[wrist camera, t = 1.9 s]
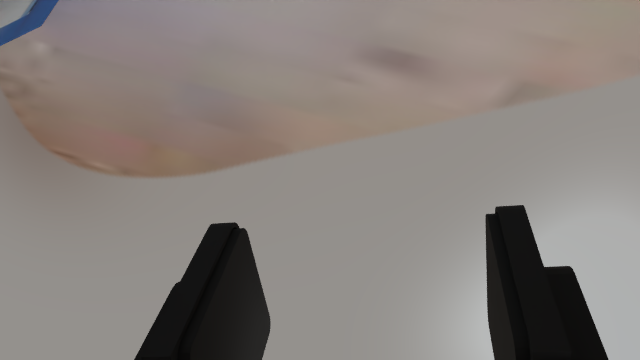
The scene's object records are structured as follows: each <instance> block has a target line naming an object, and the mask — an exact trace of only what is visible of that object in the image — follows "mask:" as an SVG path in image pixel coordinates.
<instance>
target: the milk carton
mask: <svg viewBox="0 0 640 360" xmlns="http://www.w3.org/2000/svg"><path fill="white" fill-rule="evenodd" d="M57 2H58V0H0V46H1V45H3V44H5V43H7V42H9V41H11V40H13V39H15V38H18V37H20V36H22V35H24V34H26V33H28V32H30V31H32V30H34V29H36V28H38V27H40V26H42V24H43V23H44V21H45V20H46V18H47V17H48V15H49V14H50V12H51V11H52V9H53V8H54V6H55V5H56V3H57Z"/></svg>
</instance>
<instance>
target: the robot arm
mask: <svg viewBox="0 0 640 360" xmlns="http://www.w3.org/2000/svg"><path fill="white" fill-rule="evenodd" d="M486 260H487V307H488V322H489V329H490V335H491V341H492V347H493V353H494V358H495V360H608V357H607V355H606V352H605V349H604V347H603V345H602V342H601V340H600V337H599V334H598V332H597V329H596V327H595V324H594V322H593V319H592V316H591V314H590V311H589V309H588V306H587V304H586V301H585V298H584V296H583V293H582V291H581V288H580V286H579V283H578V281H577V278H576V275H575V273H574V271H573V269H572V268H571V267H570V266H560V267H544V266H543V263H542V260H541V257H540V253H539V251H538V247H537V244H536V241H535V238H534V235H533V232H532V229H531V226H530V223H529V220H528V217H527V214H526V210H525V208H524V206H523V205H517V206H500V207H496V208H495V214H486ZM269 332H270V316H269V312H268V308H267V304H266V301H265V297H264V293H263V289H262V285H261V282H260V278H259V274H258V271H257V267H256V263H255V259H254V256H253V252H252V248H251V244H250V241H249V237H248V234H247V231H246V230H245V229H244V228H241V229H240V228H239V226H238V224H237V223H218V224H211V225H210V227H209V228H208V230H207V232H206V233H205V235H204V237H203V239H202V241H201V243H200V245H199V247H198V249H197V251H196V253H195V255H194V256H193V258H192V260H191V262H190V264H189V266H188V268H187V270H186V272H185V274H184V276H183V278H182V279H181V281H180V282H178V283H176V284H175V286H174V287H173V288H172V290H171V292H170V294H169V296H168V298H167V299H166V301H165V303H164V305H163V307H162V309H161V310H160V312H159V314H158V316H157V318H156V320H155V322H154V324H153V326H152V327H151V329H150V331H149V333H148V335H147V337H146V339H145V341H144V342H143V344H142V346H141V348H140V350H139V352H138V354H137V355H136V358H135V359H134V360H262V357H263V354H264V350H265V347H266V343H267V340H268V336H269Z"/></svg>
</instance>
